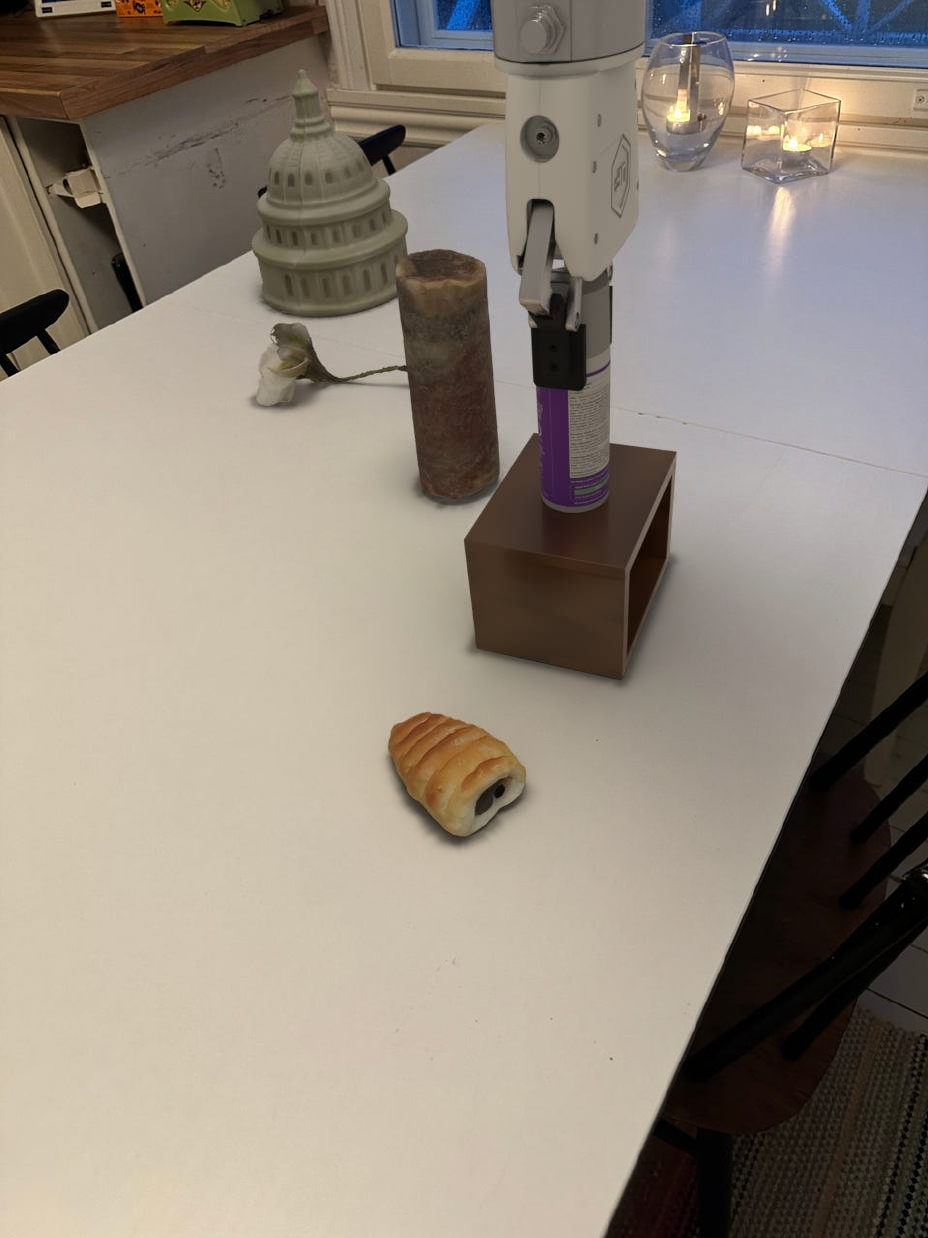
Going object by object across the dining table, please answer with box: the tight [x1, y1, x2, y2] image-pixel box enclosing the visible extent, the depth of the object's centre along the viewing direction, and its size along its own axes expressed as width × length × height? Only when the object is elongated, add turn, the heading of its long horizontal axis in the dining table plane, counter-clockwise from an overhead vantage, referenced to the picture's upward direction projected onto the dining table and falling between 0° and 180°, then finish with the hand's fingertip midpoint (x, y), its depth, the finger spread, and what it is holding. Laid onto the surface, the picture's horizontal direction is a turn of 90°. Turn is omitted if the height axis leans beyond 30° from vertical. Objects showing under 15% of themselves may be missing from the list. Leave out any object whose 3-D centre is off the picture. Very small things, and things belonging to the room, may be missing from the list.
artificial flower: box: [255, 322, 407, 407], centre depth 97 cm, size 9×22×10 cm, turn 78°
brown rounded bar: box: [395, 248, 501, 500], centre depth 78 cm, size 8×7×20 cm
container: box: [535, 266, 612, 513], centre depth 59 cm, size 5×5×15 cm
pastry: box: [387, 711, 527, 837], centre depth 58 cm, size 9×7×4 cm
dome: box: [251, 69, 409, 317], centre depth 114 cm, size 20×25×20 cm
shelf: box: [463, 432, 678, 680], centre depth 68 cm, size 11×14×10 cm
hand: (573, 362), depth 58 cm, fingers closed on container, 4 cm apart
